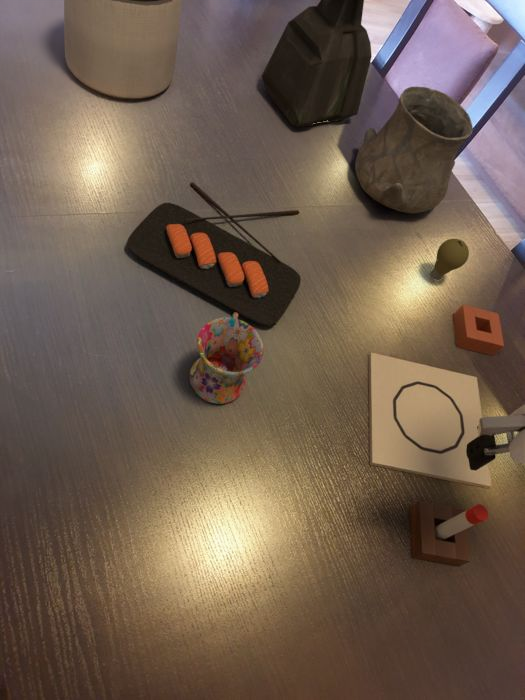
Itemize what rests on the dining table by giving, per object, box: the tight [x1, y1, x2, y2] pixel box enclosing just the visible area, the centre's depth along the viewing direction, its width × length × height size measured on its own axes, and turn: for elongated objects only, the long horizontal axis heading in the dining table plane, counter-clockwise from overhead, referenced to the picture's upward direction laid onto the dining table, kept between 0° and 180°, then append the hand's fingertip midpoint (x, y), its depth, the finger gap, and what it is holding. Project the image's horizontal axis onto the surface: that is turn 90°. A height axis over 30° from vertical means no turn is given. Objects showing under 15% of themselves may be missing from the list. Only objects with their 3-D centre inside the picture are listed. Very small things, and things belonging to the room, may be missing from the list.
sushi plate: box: [126, 181, 301, 327], centre depth 101 cm, size 29×30×4 cm
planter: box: [63, 0, 184, 100], centre depth 112 cm, size 22×22×20 cm
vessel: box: [354, 86, 474, 214], centre depth 114 cm, size 22×22×20 cm
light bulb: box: [429, 238, 470, 281], centre depth 107 cm, size 6×6×10 cm
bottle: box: [261, 0, 373, 128], centre depth 118 cm, size 18×16×30 cm
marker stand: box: [409, 500, 472, 566], centre depth 81 cm, size 7×7×3 cm
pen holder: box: [452, 304, 505, 357], centre depth 104 cm, size 7×7×4 cm
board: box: [368, 352, 492, 489], centre depth 92 cm, size 20×20×1 cm
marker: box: [435, 503, 489, 541], centre depth 77 cm, size 2×2×12 cm
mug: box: [189, 311, 264, 405], centre depth 83 cm, size 12×9×11 cm
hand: (508, 464), depth 65 cm, fingers open, 9 cm apart
